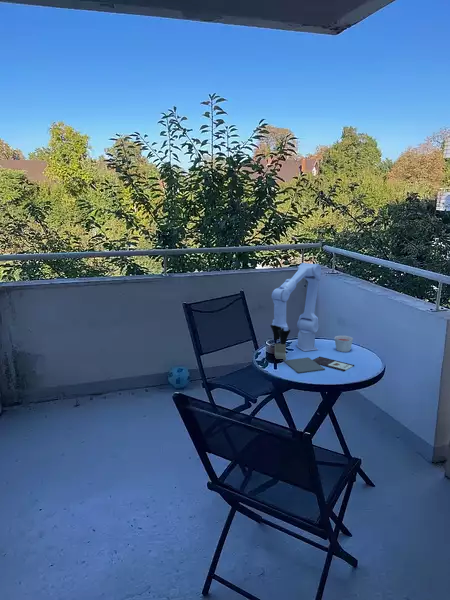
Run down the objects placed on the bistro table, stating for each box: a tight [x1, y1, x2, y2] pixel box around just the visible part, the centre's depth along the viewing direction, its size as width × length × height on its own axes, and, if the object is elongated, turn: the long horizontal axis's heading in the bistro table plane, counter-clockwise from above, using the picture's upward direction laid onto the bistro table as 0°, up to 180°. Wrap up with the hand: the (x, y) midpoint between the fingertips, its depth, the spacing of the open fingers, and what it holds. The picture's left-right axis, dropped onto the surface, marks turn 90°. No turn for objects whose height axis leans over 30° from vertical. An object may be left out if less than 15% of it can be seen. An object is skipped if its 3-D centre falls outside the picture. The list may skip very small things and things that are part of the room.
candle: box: [334, 335, 354, 353], centre depth 212 cm, size 9×9×6 cm
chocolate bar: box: [312, 356, 355, 372], centre depth 193 cm, size 9×1×18 cm
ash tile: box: [273, 342, 287, 361], centre depth 199 cm, size 2×5×8 cm, turn 106°
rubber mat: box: [283, 357, 326, 374], centre depth 192 cm, size 16×13×1 cm
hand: (280, 341), depth 198 cm, fingers open, 7 cm apart
